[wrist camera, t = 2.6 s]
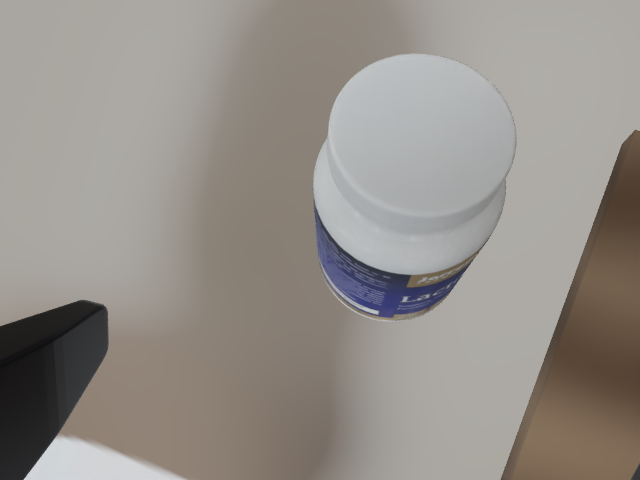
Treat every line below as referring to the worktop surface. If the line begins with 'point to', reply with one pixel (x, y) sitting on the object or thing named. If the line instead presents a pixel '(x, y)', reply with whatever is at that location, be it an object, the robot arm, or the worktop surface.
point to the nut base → (592, 353)
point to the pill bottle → (409, 183)
